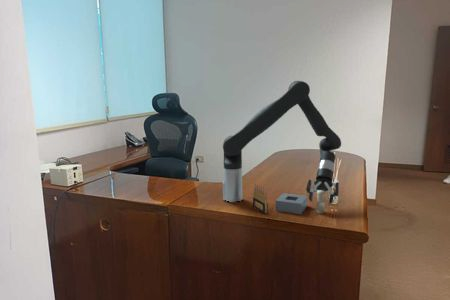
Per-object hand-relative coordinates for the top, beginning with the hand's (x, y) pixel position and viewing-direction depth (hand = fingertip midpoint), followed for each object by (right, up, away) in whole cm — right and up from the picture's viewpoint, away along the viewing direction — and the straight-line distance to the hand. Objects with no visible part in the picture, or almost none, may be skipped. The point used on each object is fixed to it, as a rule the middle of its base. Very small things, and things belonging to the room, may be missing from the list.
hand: (320, 201), depth 156 cm
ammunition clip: (-27, -5, +6) cm, 28 cm away
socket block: (-12, -4, +8) cm, 15 cm away
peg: (+1, -5, +2) cm, 5 cm away
